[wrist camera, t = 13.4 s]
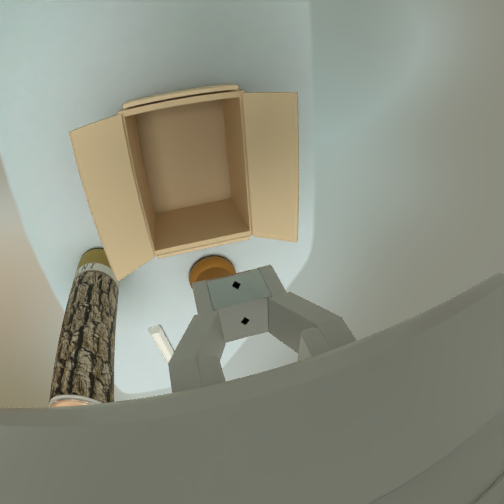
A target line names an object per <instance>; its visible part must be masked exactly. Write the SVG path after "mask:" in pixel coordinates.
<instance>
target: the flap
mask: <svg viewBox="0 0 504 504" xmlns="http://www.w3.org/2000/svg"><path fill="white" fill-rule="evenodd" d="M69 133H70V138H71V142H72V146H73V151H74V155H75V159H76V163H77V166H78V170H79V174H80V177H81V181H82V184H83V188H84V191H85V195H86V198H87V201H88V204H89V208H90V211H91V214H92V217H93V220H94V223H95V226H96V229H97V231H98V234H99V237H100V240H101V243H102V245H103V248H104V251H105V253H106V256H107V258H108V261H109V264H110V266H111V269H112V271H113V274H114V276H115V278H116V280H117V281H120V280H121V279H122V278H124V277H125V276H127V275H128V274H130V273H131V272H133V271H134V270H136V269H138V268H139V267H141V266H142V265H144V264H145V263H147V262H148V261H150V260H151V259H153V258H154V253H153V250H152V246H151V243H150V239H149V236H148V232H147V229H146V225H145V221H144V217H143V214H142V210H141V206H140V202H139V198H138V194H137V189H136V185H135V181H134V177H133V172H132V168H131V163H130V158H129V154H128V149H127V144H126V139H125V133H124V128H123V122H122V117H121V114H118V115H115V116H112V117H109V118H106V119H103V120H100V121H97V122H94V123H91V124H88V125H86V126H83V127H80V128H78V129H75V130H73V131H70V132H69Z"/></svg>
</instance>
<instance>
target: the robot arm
mask: <svg viewBox="0 0 504 504" xmlns="http://www.w3.org/2000/svg"><path fill="white" fill-rule="evenodd" d="M192 287H193V292H194V297H195V302H196V307H197V311H198V315H194V317H193V319H192V320H191V322H190V324H189V326H188V328H187V330H186V331H185V333H184V335H183V337H182V339H181V341H180V342H179V344H178V346H177V348H176V350H175V352H174V353H173V355H172V357H171V359H170V361H169V363H168V365H169V372H170V380H171V387H172V393H170V394H164V395H158V396H153V397H146V398H140V399H133V400H125V401H118V402H109V403H100V404H89V405H77V406H62V407H37V408H7V407H6V408H5V407H0V504H504V274H502V273H496V274H494V275H492V276H490V277H489V278H487V279H485V280H484V281H482V282H480V283H478V284H477V285H475V286H473V287H471V288H469V289H468V290H466V291H464V292H462V293H461V294H458V295H456V296H455V297H453V298H451V299H449V300H447V301H445V302H443V303H441V304H439V305H437V306H435V307H433V308H431V309H429V310H427V311H425V312H423V313H420V314H418V315H416V316H414V317H412V318H410V319H407V320H405V321H403V322H401V323H398V324H396V325H394V326H391V327H389V328H387V329H384V330H382V331H380V332H377V333H375V334H372V335H370V336H367V337H365V338H362V339H360V340H356V339H355V337H354V335H353V334H352V332H351V331H350V329H349V328H348V326H347V325H346V323H345V322H344V320H343V318H342V317H340V316H338V315H336V314H334V313H332V312H330V311H328V310H326V309H324V308H322V307H320V306H318V305H316V304H314V303H312V302H310V301H308V300H306V299H304V298H302V297H300V296H298V295H296V294H293V293H292V292H288V293H287V292H286V291H285V289H284V287H283V285H282V283H281V282H280V280H279V278H278V276H277V274H276V273H275V271H274V269H273V267H272V266H271V265H268V266H264V267H260V268H257V269H253V270H248V271H244V272H240V273H236V274H232V275H227V276H222V277H217V278H212V279H207V280H203V281H198V282H193V283H192ZM265 332H269V333H271V334H272V335H273V336H275V337H276V338H277V339H279V340H280V341H281V342H283V343H284V344H286V345H287V346H288V347H290V348H291V349H293V350H294V351H295V352H297V353H298V362H295V363H292V364H289V365H285V366H282V367H278V368H275V369H272V370H268V371H265V372H261V373H258V374H254V375H250V376H246V377H243V378H239V379H234V380H230V381H225V378H224V375H223V371H222V368H221V364H220V359H221V356H222V353H223V350H224V347H225V343H226V342H230V341H233V340H237V339H241V338H244V337H248V336H252V335H256V334H261V333H265Z"/></svg>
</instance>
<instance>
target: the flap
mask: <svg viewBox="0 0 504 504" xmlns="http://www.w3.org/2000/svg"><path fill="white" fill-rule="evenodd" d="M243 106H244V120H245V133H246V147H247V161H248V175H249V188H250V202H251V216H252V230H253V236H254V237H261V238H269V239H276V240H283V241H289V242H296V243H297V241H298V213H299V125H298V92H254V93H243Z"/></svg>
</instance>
